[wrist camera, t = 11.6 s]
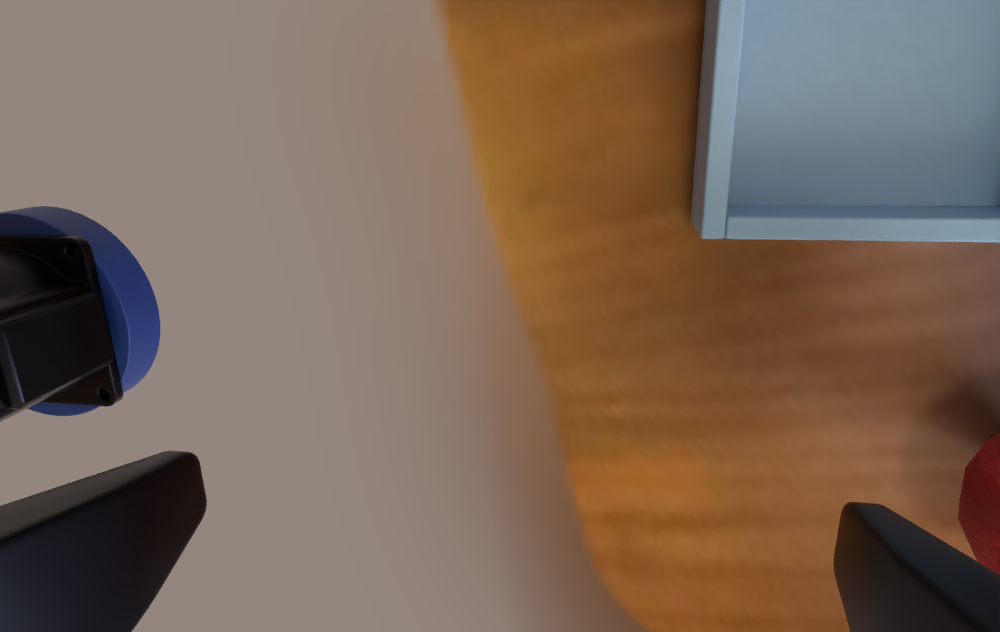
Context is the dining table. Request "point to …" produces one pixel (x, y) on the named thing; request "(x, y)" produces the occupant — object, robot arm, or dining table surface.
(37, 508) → the robot arm
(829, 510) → the dining table surface
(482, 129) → the dining table surface
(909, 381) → the dining table surface
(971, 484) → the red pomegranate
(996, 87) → the divided blue tray
